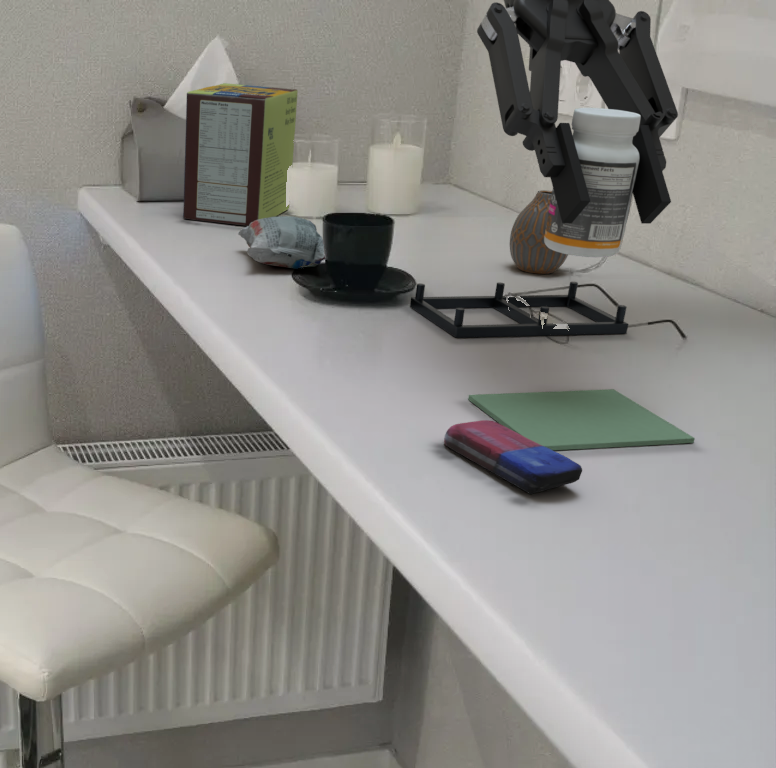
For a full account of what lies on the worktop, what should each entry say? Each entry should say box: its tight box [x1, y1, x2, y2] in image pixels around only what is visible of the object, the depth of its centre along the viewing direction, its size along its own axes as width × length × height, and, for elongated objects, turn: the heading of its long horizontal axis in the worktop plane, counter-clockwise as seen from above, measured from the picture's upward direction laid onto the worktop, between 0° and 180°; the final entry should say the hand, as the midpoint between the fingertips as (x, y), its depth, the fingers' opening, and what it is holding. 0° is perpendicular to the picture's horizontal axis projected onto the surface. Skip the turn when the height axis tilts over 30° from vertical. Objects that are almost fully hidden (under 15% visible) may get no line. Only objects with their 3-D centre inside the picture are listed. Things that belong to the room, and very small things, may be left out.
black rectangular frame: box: [409, 281, 629, 339], centre depth 114 cm, size 18×11×2 cm, turn 105°
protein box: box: [182, 82, 298, 227], centre depth 152 cm, size 10×15×16 cm
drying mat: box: [467, 388, 696, 451], centre depth 89 cm, size 13×11×1 cm
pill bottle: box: [544, 107, 641, 258], centre depth 86 cm, size 6×6×10 cm
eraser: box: [443, 419, 583, 495], centre depth 79 cm, size 11×4×2 cm, turn 26°
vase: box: [509, 189, 569, 275], centre depth 133 cm, size 7×7×9 cm
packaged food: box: [237, 215, 326, 270], centre depth 130 cm, size 9×12×5 cm
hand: (616, 212), depth 83 cm, fingers closed on pill bottle, 6 cm apart
